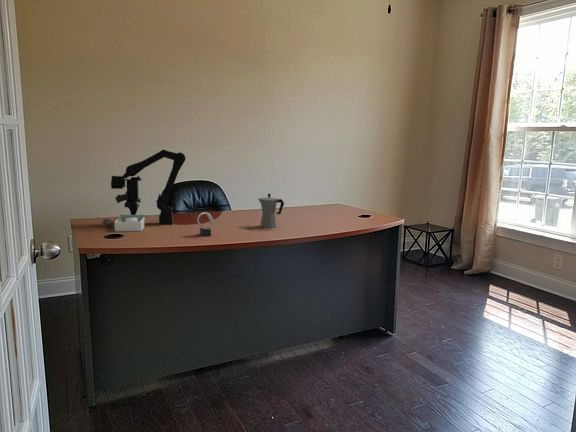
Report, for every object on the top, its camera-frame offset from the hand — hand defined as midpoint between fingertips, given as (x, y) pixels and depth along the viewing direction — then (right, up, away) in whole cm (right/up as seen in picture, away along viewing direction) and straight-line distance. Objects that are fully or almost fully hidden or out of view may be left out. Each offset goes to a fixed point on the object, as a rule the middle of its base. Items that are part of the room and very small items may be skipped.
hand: (133, 218), depth 239 cm
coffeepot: (+72, -5, +6) cm, 73 cm away
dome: (+2, -2, -7) cm, 7 cm away
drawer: (+2, -3, -9) cm, 10 cm away
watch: (+42, -8, -20) cm, 47 cm away
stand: (-11, -4, -8) cm, 14 cm away
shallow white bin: (+2, -5, -11) cm, 12 cm away
